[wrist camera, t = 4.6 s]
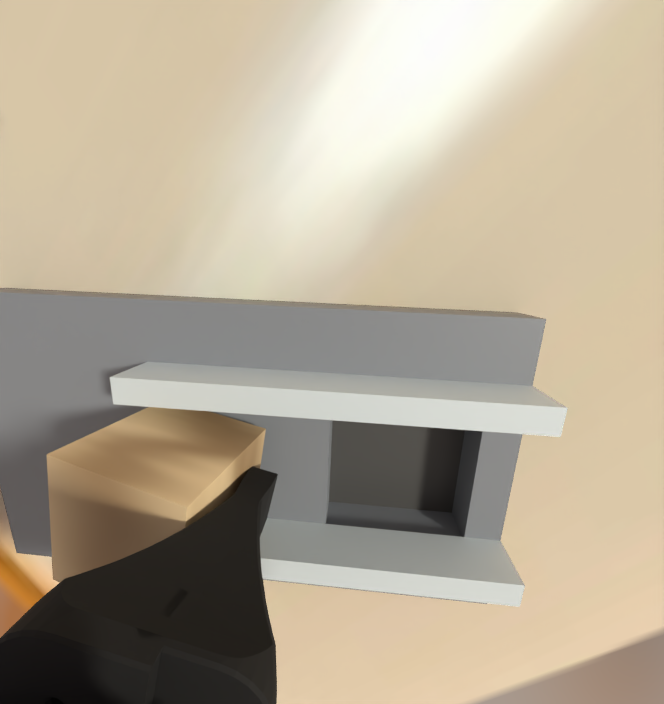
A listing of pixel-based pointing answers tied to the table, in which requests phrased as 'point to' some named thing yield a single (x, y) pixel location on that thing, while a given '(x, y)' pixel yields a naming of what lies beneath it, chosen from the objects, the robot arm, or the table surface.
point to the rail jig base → (299, 422)
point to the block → (142, 482)
